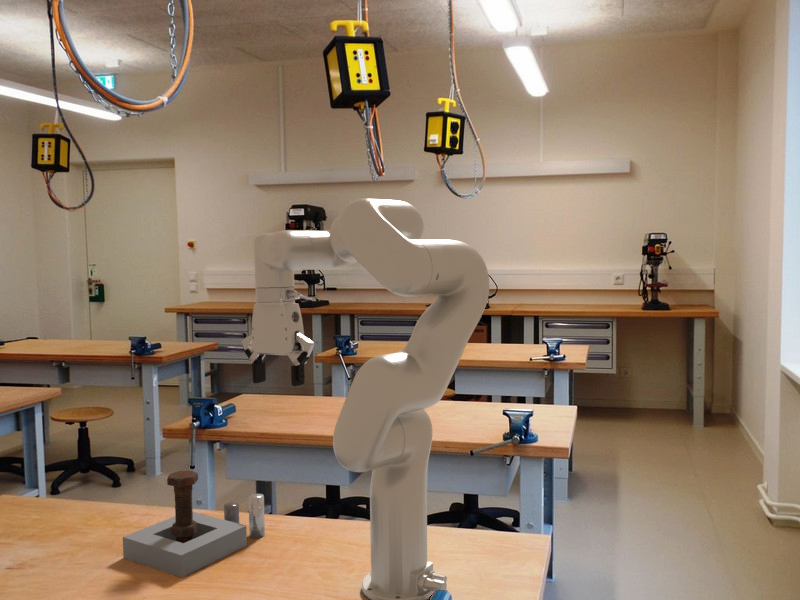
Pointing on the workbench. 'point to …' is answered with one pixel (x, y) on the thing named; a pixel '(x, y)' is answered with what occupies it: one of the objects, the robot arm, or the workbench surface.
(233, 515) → the pin short
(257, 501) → the pin mid
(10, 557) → the workbench surface
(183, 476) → the bolt
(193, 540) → the frame
